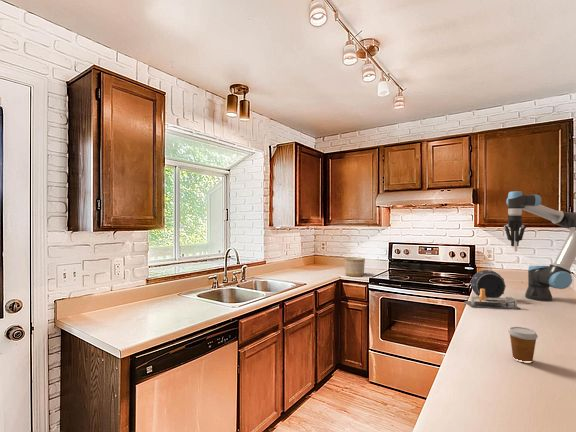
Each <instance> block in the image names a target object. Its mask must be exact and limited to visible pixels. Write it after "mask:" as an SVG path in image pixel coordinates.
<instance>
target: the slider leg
mask: <svg viewBox="0 0 576 432" xmlns="http://www.w3.org/2000/svg"><path fill="white" fill-rule="evenodd" d="M478 297H481V299H478V302H479V303H480V304H481V302H487V300H486V296H485V289H480V295H479V296H478Z"/></svg>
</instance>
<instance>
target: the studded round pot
mask: <svg viewBox="0 0 576 432" xmlns="http://www.w3.org/2000/svg"><path fill="white" fill-rule="evenodd" d="M470 285H471V290H472V291H473V292H474V294H475V295H476V297H479V295H480V289H485V296H486V297H491V298H501V296H503V295H504V294H505V293H504V292H505V290H506V287H507V286H506V283H505V279H504V277H502V276H501V274H499V273H497V272H496V271H493V270H491V269H490V270H489V269H484V270H479V271H477V272H476V273H475V274H474V275H473V276H472V277H471V282H470Z"/></svg>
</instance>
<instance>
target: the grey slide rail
mask: <svg viewBox="0 0 576 432" xmlns="http://www.w3.org/2000/svg"><path fill="white" fill-rule="evenodd" d="M479 299H481V297H479V296H471V300H470V301H471V305H474V301H475V300H479ZM487 300H488V301H505V303H506V305H508V303H513V304H514V307H517V306H518V298H516V297H515V298H514V297H512V296H505V297H499V298H491V297H486V301H487Z"/></svg>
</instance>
